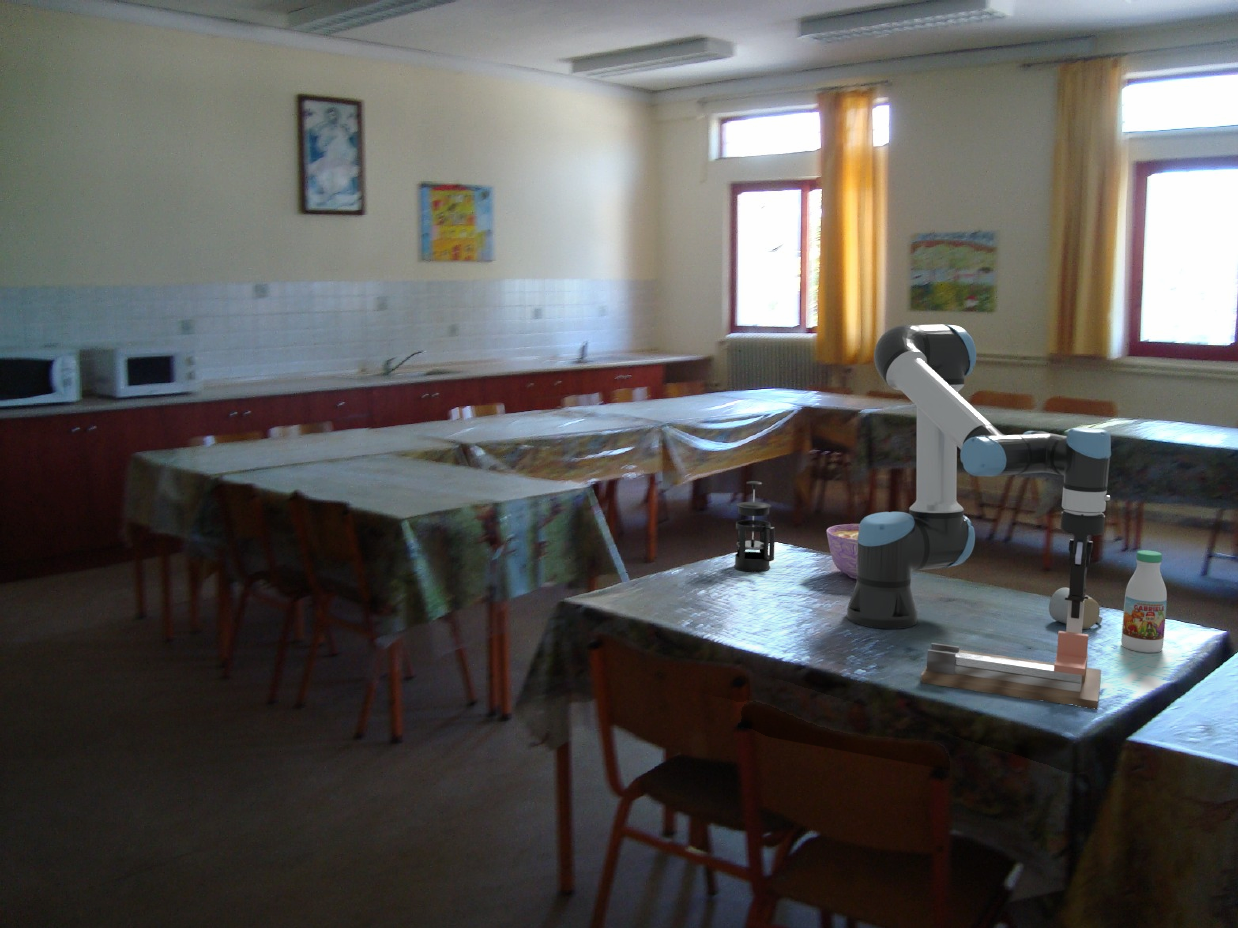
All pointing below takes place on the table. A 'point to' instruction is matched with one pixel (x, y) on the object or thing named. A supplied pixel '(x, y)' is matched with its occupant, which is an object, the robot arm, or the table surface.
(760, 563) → the french press
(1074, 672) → the bracket
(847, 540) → the bowl of food
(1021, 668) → the tong arm
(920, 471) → the robot arm
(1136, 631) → the milk bottle
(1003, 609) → the table surface
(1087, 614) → the ceramic mug
